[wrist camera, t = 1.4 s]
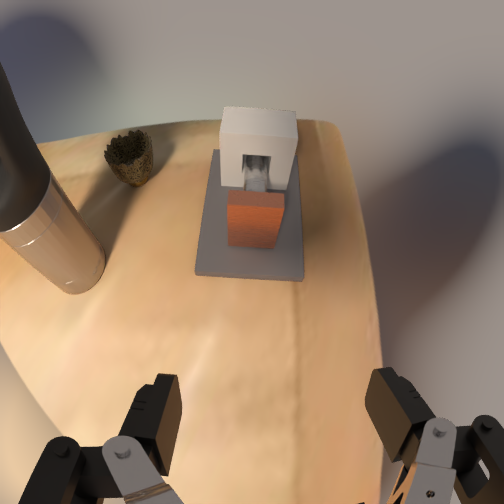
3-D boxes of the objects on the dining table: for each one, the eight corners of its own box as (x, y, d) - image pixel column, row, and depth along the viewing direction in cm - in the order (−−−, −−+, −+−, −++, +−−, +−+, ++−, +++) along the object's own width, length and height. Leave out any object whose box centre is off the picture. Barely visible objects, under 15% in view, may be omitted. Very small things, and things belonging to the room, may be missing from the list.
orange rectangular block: (228, 245, 39) (227, 204, 31) (234, 179, 44) (235, 134, 36) (274, 248, 39) (284, 208, 31) (274, 182, 44) (281, 137, 36)
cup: (156, 159, 48) (148, 124, 41) (163, 189, 45) (154, 154, 38) (116, 171, 47) (103, 138, 39) (119, 203, 44) (104, 169, 36)
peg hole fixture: (195, 275, 39) (182, 226, 28) (214, 155, 49) (211, 98, 38) (301, 281, 39) (326, 235, 29) (295, 161, 49) (308, 105, 39)
